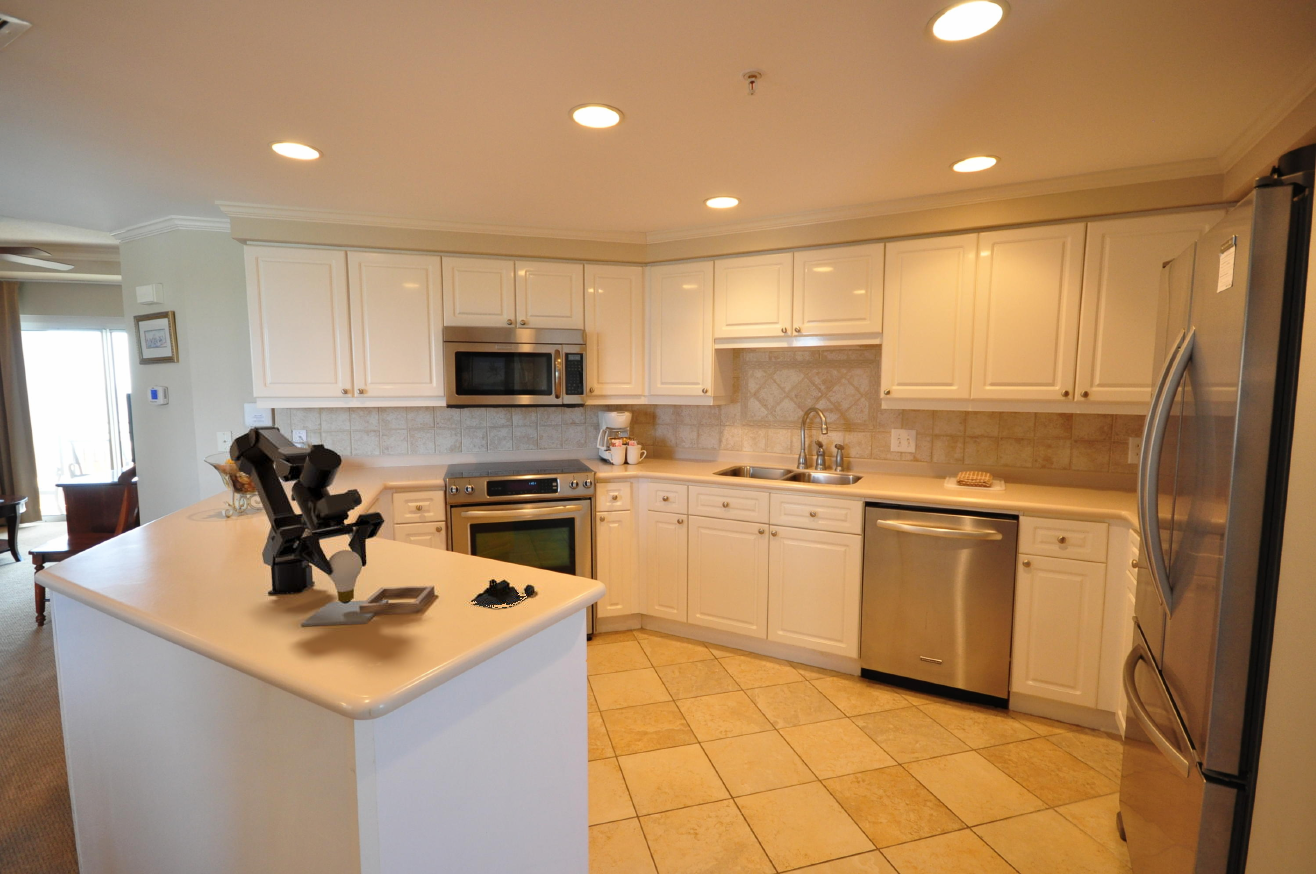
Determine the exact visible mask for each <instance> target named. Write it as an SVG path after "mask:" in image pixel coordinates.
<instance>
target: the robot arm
mask: <svg viewBox="0 0 1316 874" xmlns="http://www.w3.org/2000/svg"><path fill="white" fill-rule="evenodd" d="M228 451H229V458H230V460H231V462H233V463H234V465H235V466H236V468H237V471H239V472H240V473H242V474H245V475H246V476H247V477H250V478H251V482H252V483H253V485H254V488H255V490H256V492H257V496H258V498H259V500H260V503H261V504H262V507H263V509H264V512H265V515H266V516H267V519H268V521H269V524H270V529H269V532H268V534H267V538H266V542H265V544H264V547H263V550H262V553H261V556H262V561H263V564H264V565H267V566H269V567H270V575H271V589H270V590H269V591H267V594H268V595H284V594H289V595H290V594H301V593H303V592H304V591H305V590H308V589H309V588H310V587H312V586H314V585H315V581H314V580H313V579H314V578H313V566H314V567H315V568H317V569H319V570H320V571H321V572H323V573H325V575H327V576H328V575H331V574H332V569H331V566H330V563H329V561H328V560H329V559H328V558H327V556H326V555H325V553H324V550H323V549H322V547H321V542H320V541H321V540H326V539H331V538H336V537H342V536H348V537H349V539H350V540H349V542H348V544H347V545H348V547H349V548H350V551H353V552H355V553H356V554H358V555H359V557H360V558H361V561H362V568H363V567H366V566H367V561H368V560H367V550H366V549H367V545H366V544H367V543H366V542H367V540H369V539H373V538H375V537H376V536H377V535H378V532H380V530H381V528H382V526H383V524H384V523H385V519H384V517H383V515H382V514H381V512H379V511H372V512H366V513H361V514H359V515H358V516H357V518H356V520H355V522H351V523H346V522H345V521H347V520H348V519H349V517H350V515H349V512H351V511H353V510H355V509H356V508H357V507H359V506H360V505H361V504H362V503H363V500H362V495H361V494H360V492H359V491H358V489H357V488H354V489H353V488H352V489H348V490H347V491H345V492H344V493H342V492H341V493H337V494H330V491H329V489H328V487H331V485H333V483H334V481H335V480H336V476H337V475H338V472H339V469H340V468H341V466H342V456H341V455H340V454H338V453H337V452H336V451H334V450H332V449H331V448H326V447H325V445H324V444H323V443H321V444H320V443H319V444H312V445H311V447H310V448H308V447H299V446H298V445H296V444H295V443H294V442H293V441H291V440H290V439H289V438H287V437H286V436H285V435H284V434H283V433H281V430H280V428H279V427H278V426H274V425H268V426H267V425H266V426H254V427H251V428H250V429H249V430H248V432H246V433H244V434H242V435H240V436H238V437H236V438H234V439H233V441H232V443H231V445H230V446H229V450H228ZM281 481H282V482H283V483H288V482H289V483H290V482H294V484H292V486H291V490H290V491H291V496H290V498H291V499H290V498H289V497H288V495H287V492H286V491H285V488H284V486H283V484H282V482H281ZM291 501H292V502H296V504H297V506H298V508H299V511H300V513H299V514H298V513H296V512H295V511H294V509H293V508H294V507H293V506H292V504H291Z"/></svg>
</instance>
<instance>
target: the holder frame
mask: <svg viewBox="0 0 1316 874" xmlns="http://www.w3.org/2000/svg"><path fill="white" fill-rule="evenodd" d="M435 594H436V593H435V585H433V584H432V585H415V586H414V585H412V586H411V585H410V586H387V587H385V586H384V587H383V586H382V587H380V588H378V590H376V591H375V592H374V593H373V594H372V595H370V596H369V597H368V598H367V599H365V600H363V601H364V602H363V603H362V604H361V605H360V606H359V611H360V613H363V612H375V615H377V616H378V615H398V614H399V615H400V614H401V615H402V614H418V613H420V612H421V610H422V609H423V608H424V607H425V606H426V605H427V604H428V602H429V601H430V600H431V599H432V598H433V597H434V596H435ZM405 597H406V598H409V597H410V598H411V597H417V598H416V599H415V600H414V601H404V602H402V601H399V602H388V603H376V602H378V601H379V600H385V598H388V599H389V598H405ZM375 615H374V616H375Z"/></svg>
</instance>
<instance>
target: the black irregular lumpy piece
mask: <svg viewBox="0 0 1316 874" xmlns="http://www.w3.org/2000/svg"><path fill="white" fill-rule="evenodd" d="M488 584H489V585H488V587H486V588H485V589H484V590H483V591H482V592H480V593H478V594H477V595H476V596H475V597H474V598H473V599H472V600H470V601H471V602H473V601H474V602H475V601H476V602H477V603H475V604H473V605H472V606H475V605H479V606H478V607H480V606H483V607H482V608H485V607H488V606H489V607H488V608H487V609H489V608H492V605H493V607H494V605H502V604H505V603H506V605H510V604H511V605H512V604H513V603H516V602H518V601H521V600H522V599H523V598H524V597H526V596H527V599H529V598H531V597H532V596H533V595H534V594H535V586H534V585H532V584H527V585H525V587H524V588H523V591H524V592H525V594H526V596H520V595H518V594H519V593H520V592H519V591H518V590H517V588H516V587H515V586H511V583H510V582H509V581H507V580H506V579H503V580H500V581H498V582H497V580H495V578H493V579H489V580H488ZM515 588H516V589H515ZM517 591H518V592H517ZM531 595H532V596H531ZM528 597H529V598H528ZM520 598H522V599H520ZM525 599H526V598H525ZM525 599H524V600H522V602H524V601H526V600H527V599H526V600H525ZM517 604H518V605H519V604H521V603H520V602H518V603H517ZM517 604H516V606H518V605H517ZM486 605H487V606H486ZM490 605H491V607H490ZM513 605H515V604H513ZM509 607H510V608H513V607H512V606H509ZM495 608H498V607H495ZM502 608H504V609H508V608H507V607H502Z"/></svg>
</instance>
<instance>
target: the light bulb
mask: <svg viewBox="0 0 1316 874" xmlns="http://www.w3.org/2000/svg"><path fill="white" fill-rule="evenodd" d="M327 560H328V561H329V563H330V566H331V569H332V574H331V575H327V576H328V577H329V579H330V580H331V581H332V582H333V584H334V587H335V590H336V591H337V592H336V593H337V602H342V603H344V604H347V603H349V602H350V601H353V600H354V598H355V587H356V583H357V579H358V577H359V575H360V573H361V572H362V569H363V567H362V561H361V558H360V557H359V555H358V554H356V553H355V552H353V551H352V550H351V549H350V550H349V549H343V550H339V551H337V552H335V553H333V554H331V556H330V557H329V558H328V559H327Z"/></svg>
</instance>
